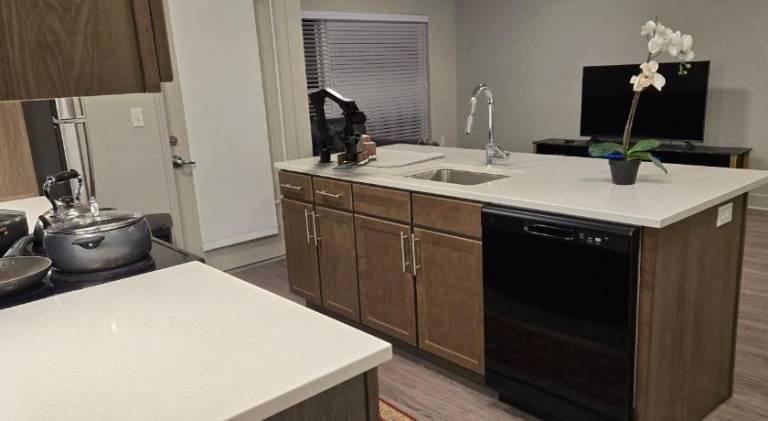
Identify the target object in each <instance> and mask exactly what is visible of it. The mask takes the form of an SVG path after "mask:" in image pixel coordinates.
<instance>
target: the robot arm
mask: <svg viewBox="0 0 768 421" xmlns="http://www.w3.org/2000/svg"><path fill="white" fill-rule="evenodd" d="M327 98H328V99H329V100H330V101H333V102H334V103H336V104H338V107H339V108H340V110H342V112H341V114H340V115H341V116H343V123H344V125H343V126H342V129H339V128H338V129H335V130H334V132H333V133H334V134H331V133H330V131H329V128H328V123H327V121H328V120H327V116H326V112H325V103H326V99H327ZM309 101H310V104H311V105H312V107H313V108H314V111H315V114H316V121H317V124H318V125H317V126H318V130H319V136H318V144H317V145H316V147H315V150H316V152H317V153H318V152H319V160H317V162H318V163H325V164H326V163H329V162H328V161H330V160H332V158H331V154H332V153H331V151H333V150H334V146H335V138H334V136H335V137H336V138H338V142H340V143H342V144H343V145H344V148H345V147H346V150H347V153H348V154H350V151H351V146H352V142H353V141H351V140H352V139H355V144H357V145H358V142H359V140H360V138H361V137H362V135H363V133H362V132H361V131H356V128H357V125H365V123H366V122H367V119H368V118H367V115H366V114H365V113H364V111H363V110H360V108H358V106H357V104H356V101H355V99H351V98H347V97H344V96H342V95H341V94H339V93H338V92H336V91H334V90H333V89H331V87H322V88H321V89H319V90H316V91H312V92H311V93H309ZM358 137H359V138H358Z"/></svg>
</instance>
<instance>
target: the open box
mask: <svg viewBox="0 0 768 421" xmlns="http://www.w3.org/2000/svg"><path fill="white" fill-rule="evenodd" d="M336 157H337V158H336V159H337V166H339V165H344V164H343V162H344V161H346V156H345V151H343V152H341V153H338V154H337V155H336ZM368 158H369V151H358V155H357V160H358V162H357V164H358V163H360V162H362V161H364V160H366V159H368Z"/></svg>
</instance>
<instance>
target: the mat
mask: <svg viewBox="0 0 768 421" xmlns="http://www.w3.org/2000/svg"><path fill="white" fill-rule="evenodd" d="M355 165H356V164H342V165H339V166H338V165H336V166H334V167H332V169H333V170H351V169H353V168H355V167H354V166H355ZM352 167H353V168H352ZM350 168H351V169H350Z"/></svg>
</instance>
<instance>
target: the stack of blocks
mask: <svg viewBox="0 0 768 421" xmlns="http://www.w3.org/2000/svg"><path fill="white" fill-rule="evenodd" d="M358 138H359V137H358ZM357 150H358V151H369V156H373V155H376V156H377V143H376V142H374V141H372V136H371V135H367V134H362V137H361V138H360V140H359V142H358V145H357Z"/></svg>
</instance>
